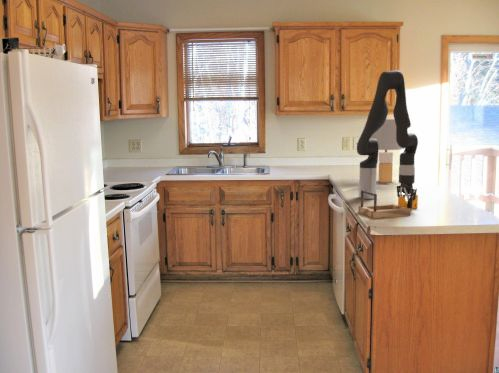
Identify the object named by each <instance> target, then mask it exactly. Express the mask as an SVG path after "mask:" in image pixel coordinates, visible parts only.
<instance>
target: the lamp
mask: <svg viewBox="0 0 499 373" xmlns="http://www.w3.org/2000/svg"><path fill="white" fill-rule="evenodd" d="M371 138H374V139H376V140H377V141H378V145H379V150H378V178H377V179H378V183H380V184H387V183H388V184H389V183H393V163H394V162H393V159H394V157H393V156H394V153H393V152H392V151H397V150H398V151H399V150H405V148H401V147H400V146H399V145H398V144H397V141H396V124H395V120H394V118H393V119H391V118H386V120H385V123H384V124H383V125H382V127H381V128H379V129H378V130H377V131H376V132H375V133H374V134H373V135H372V136H371Z"/></svg>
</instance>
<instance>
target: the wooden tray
mask: <svg viewBox="0 0 499 373" xmlns="http://www.w3.org/2000/svg"><path fill="white" fill-rule="evenodd" d="M363 193H366V194H369V195H373V196H374V199H373V204H371V205H368V204H367V205H364V199H363ZM377 203H378V194H377V193H376V194H373V193H370V192H367V191H364V190H361V198H360V205H359V206H358V213H360V214H362V215H365V216H367V217H370V218H372V217H373V219H381V218H382V217H385V218H393V217H394V218H396V217H404V216H405V217H407V216H411V210H412V209H409V208H405V207H402V206H399V205H398V204H396V203H383V204H377ZM382 219H383V218H382Z"/></svg>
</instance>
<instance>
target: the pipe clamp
mask: <svg viewBox="0 0 499 373" xmlns="http://www.w3.org/2000/svg"><path fill="white" fill-rule="evenodd" d="M418 197H419V195H418V194H416V198H415V200H413V201H412V208H409V209H411V210H412V209H413V210H414V209H418V205H419V204H418V202H419V201H418V200H419V198H418ZM407 201H408V200H406V196H405V197H398V196H397V205H399V206H402V207H405V208H407Z"/></svg>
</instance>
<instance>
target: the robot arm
mask: <svg viewBox="0 0 499 373" xmlns="http://www.w3.org/2000/svg"><path fill="white" fill-rule="evenodd" d="M391 90H394V91H395V95H396V99H395V104H394V106H393V107H394V108H393V119H394V120H395V124H396V141H397V144H398V145H399V146H400V147H401V148H404V149H403V152H401V153H400V154H399V165H398V166H399V167H398V184H400V185H396V196H397V198H398V197H405V198H406V199H407V200H406V201H407V208H412V201H413V200H415V198H416V195H417V191H418V190H417V187H416V188H415V187H413V185H414V183H415V180H416V179H415V172H416V171H415V157H416V156H415V155H416V152H417V149H418V144H419V140H418V137H417V135H416V134H415V133H413V132H412V133H411V132H409V133H408V129H409V128H410V127H411V126H412V124H411V123H412V122H411V120H410V115H409V111H408V107H407V95H406V85H405V77H404V74H403V72H402V71H400V70H398V69H396V70H385V71H382V73H381V74H380V75H379V77H378V81H377V86H376V90H375V95H374V98H373V101H372V105H371V108H370V109H369V113H368V115H367V119H366V122H365V124H364V127H363V130H362V132H361V134H360V136H359V138H358V141H357V144H356V153H357V154H358V155H360V156H367V158H366V159H364V160H362V161H360V162H359V180H358V197H359V199H361V190H364V191H367V192H370V193H373V194H377V167H378V163H379V151H380V150H379V145H378V141H377V140H376V139H374V138H371V136H372V135H373V134H374V133H375V132H376V131H377V130H378V129H379V128H381V127H382V125H383V124H384V123H385V120H386V119H387V118H388V114H389V107H388V105H387V101H386V97H387V95H388V91H391ZM363 200H374V196H373V195H369V194H366V193H363Z"/></svg>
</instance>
